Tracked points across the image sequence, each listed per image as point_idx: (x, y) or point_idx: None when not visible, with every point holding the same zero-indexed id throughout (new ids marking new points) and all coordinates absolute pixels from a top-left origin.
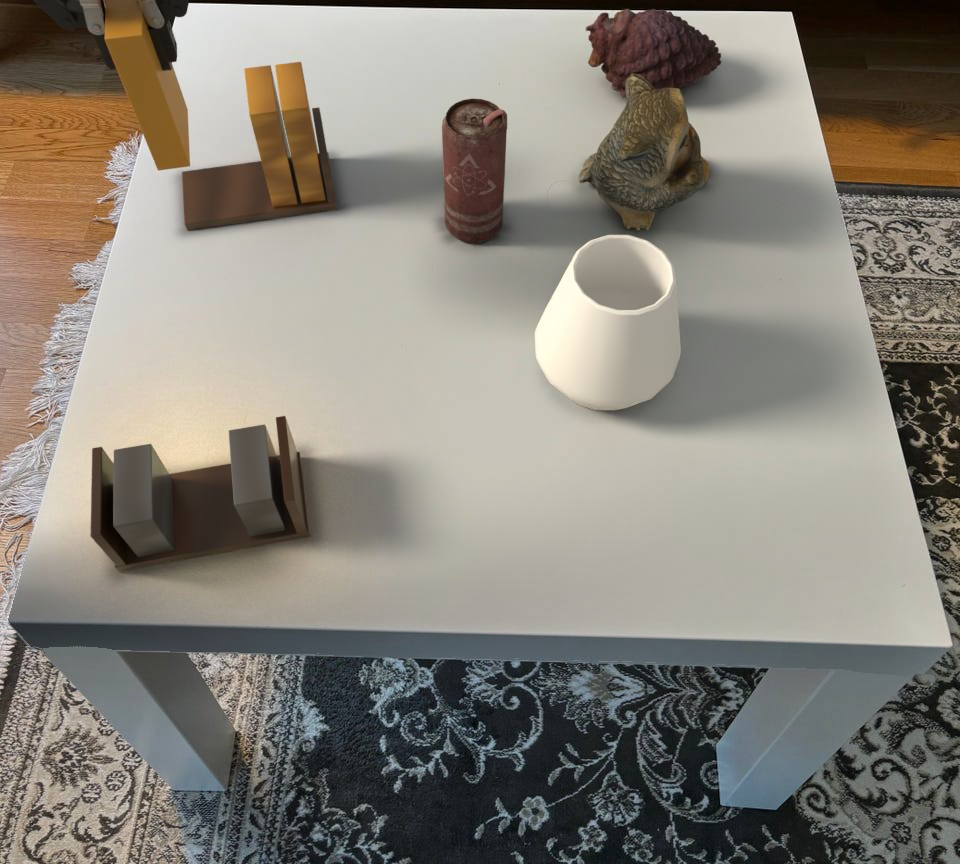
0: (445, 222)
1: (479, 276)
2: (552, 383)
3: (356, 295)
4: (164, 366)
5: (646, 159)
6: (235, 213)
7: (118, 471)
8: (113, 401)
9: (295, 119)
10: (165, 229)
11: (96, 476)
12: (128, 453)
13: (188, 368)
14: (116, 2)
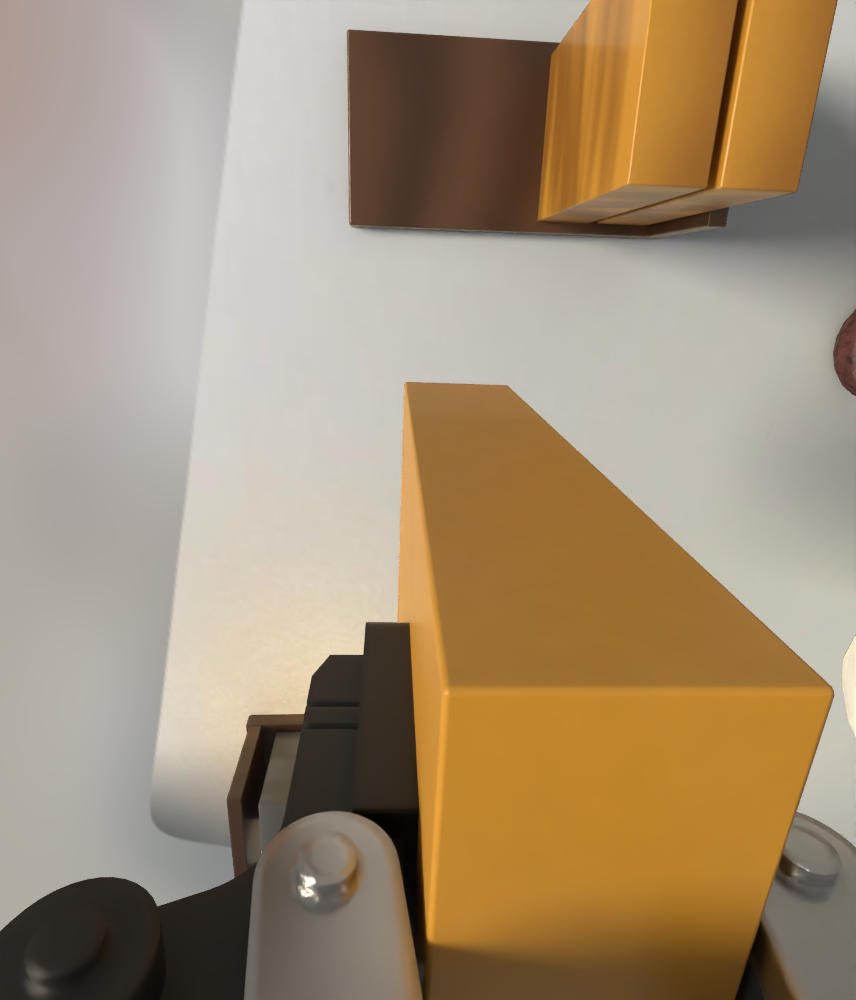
0: (840, 343)
1: (833, 464)
2: (853, 730)
3: (630, 462)
4: (307, 540)
5: None
6: (457, 218)
7: (267, 834)
8: (230, 587)
9: (734, 195)
10: (305, 209)
11: (237, 837)
12: (280, 814)
13: (345, 551)
14: (522, 998)
